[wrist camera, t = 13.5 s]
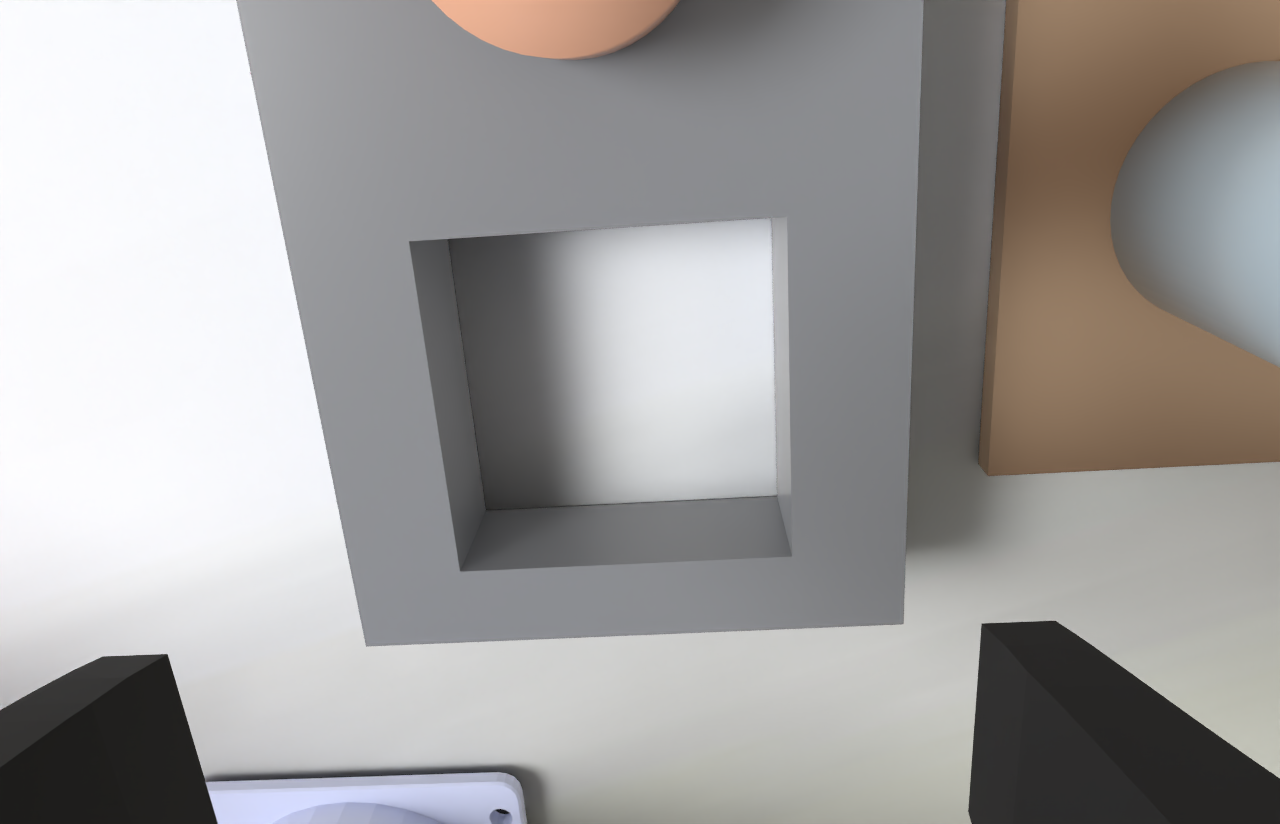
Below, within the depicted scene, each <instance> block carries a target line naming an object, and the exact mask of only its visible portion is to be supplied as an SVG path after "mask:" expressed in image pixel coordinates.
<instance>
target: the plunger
mask: <svg viewBox="0 0 1280 824" xmlns="http://www.w3.org/2000/svg"><path fill="white" fill-rule="evenodd" d="M432 1H433V2H434V3H435V4H436V5H437V6H438V7H439V8H440V9H441V10H442V11H443V12H444V13H445V14H446V15H447V16H448V17H449V18H450V19H452V20H453V21H454V22H455V23H457V24H458V25H459V26H461V27H462V28H463V29H464V30H466V31H468V32H469V33H471V34H473V35H474V36H476V37H478V38H479V39H481V40H483V41H485V42H487V43H490V44H492V45H494V46H496V47H499V48H501V49H504V50H507V51H511V52H515V53H518V54H522V55H528V56H535V57H542V58H550V59H559V60H582V59H588V58H595V57H600V56H603V55H606V54H610V53H613V52H616V51H618V50H620V49H623V48H625V47H627V46H629V45H631V44H633V43H635V42H636V41H638V40H639V39H641V38H642V37H644V36H646V35H647V34H648V33H650V32H651V31H652V30H653V29H654V28H656V27H657V26H658V25H659V24H660V23H661V22H662V21H663V20H664V19H665V18H666V17H667V16H668V15H669V14H670V13H671V12H672V11H673V9H674V8H675V7H676V5H677V4H678V3H679V1H680V0H432Z"/></svg>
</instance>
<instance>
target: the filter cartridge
mask: <svg viewBox="0 0 1280 824" xmlns="http://www.w3.org/2000/svg"><path fill="white" fill-rule="evenodd" d="M1110 225H1111V237H1112V242H1113V246H1114V251H1115V254H1116V257H1117V259H1118V262H1119V264H1120V267H1121V269H1122V270H1123V272H1124V274H1125V276H1126V277H1127V279H1128V280H1129V282H1130V283H1131V284H1132V285H1133V287H1134V288H1135V289H1136V290H1137V291H1138V292H1139V293H1140V294H1141V295H1142V296H1143V297H1144V298H1145V299H1147V300H1148V301H1149V302H1151V303H1152V304H1154V305H1155V306H1157V307H1158V308H1160V309H1162V310H1164V311H1166V312H1168V313H1170V314H1172V315H1174V316H1176V317H1178V318H1180V319H1182V320H1184V321H1186V322H1188V323H1190V324H1192V325H1194V326H1196V327H1198V328H1200V329H1202V330H1204V331H1207V332H1209V333H1211V334H1213V335H1215V336H1217V337H1219V338H1221V339H1223V340H1225V341H1227V342H1229V343H1231V344H1233V345H1235V346H1237V347H1239V348H1241V349H1243V350H1245V351H1247V352H1249V353H1251V354H1253V355H1255V356H1257V357H1259V358H1261V359H1263V360H1265V361H1267V362H1270V363H1272V364H1274V365H1276V366H1278V367H1280V61H1262V62H1254V63H1246V64H1242V65H1238V66H1235V67H1231V68H1227V69H1225V70H1222V71H1220V72H1217V73H1215V74H1212V75H1210V76H1208V77H1206V78H1204V79H1202V80H1200V81H1198V82H1196V83H1195V84H1193V85H1191V86H1190V87H1188V88H1187V89H1185V90H1184V91H1183V92H1181V93H1180V94H1178V95H1177V96H1176V97H1174V98H1173V99H1172V100H1171V101H1170V102H1169V103H1167V104H1166V105H1165V106H1164V107H1163V108H1162V109H1161V110H1160V111H1159V112H1158V113H1157V114H1156V115H1155V116H1154V117H1153V118H1152V119H1151V120H1150V121H1149V123H1148V124H1147V125H1146V126H1145V128H1144V129H1143V130H1142V132H1141V133H1140V134H1139V136H1138V137H1137V139H1136V140H1135V142H1134V144H1133V145H1132V147H1131V149H1130V150H1129V152H1128V154H1127V156H1126V158H1125V160H1124V162H1123V165H1122V167H1121V169H1120V172H1119V175H1118V178H1117V181H1116V184H1115V187H1114V192H1113V198H1112V203H1111V216H1110Z"/></svg>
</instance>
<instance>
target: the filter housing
mask: <svg viewBox="0 0 1280 824" xmlns="http://www.w3.org/2000/svg"><path fill="white" fill-rule="evenodd" d="M236 1H237V6H238V11H239V16H240V21H241V26H242V31H243V36H244V41H245V46H246V51H247V56H248V61H249V66H250V71H251V76H252V80H253V85H254V90H255V95H256V100H257V105H258V110H259V115H260V120H261V125H262V130H263V135H264V140H265V145H266V150H267V155H268V160H269V165H270V170H271V175H272V180H273V185H274V190H275V195H276V200H277V205H278V210H279V215H280V220H281V225H282V230H283V235H284V240H285V245H286V250H287V255H288V260H289V265H290V270H291V275H292V280H293V285H294V290H295V295H296V300H297V305H298V310H299V315H300V320H301V324H302V329H303V334H304V339H305V344H306V349H307V354H308V359H309V364H310V369H311V374H312V379H313V384H314V389H315V394H316V399H317V404H318V409H319V414H320V419H321V424H322V429H323V434H324V439H325V444H326V449H327V454H328V459H329V464H330V469H331V474H332V479H333V484H334V489H335V494H336V499H337V504H338V509H339V514H340V519H341V524H342V529H343V534H344V539H345V544H346V549H347V554H348V559H349V564H350V568H351V573H352V578H353V583H354V588H355V593H356V598H357V603H358V608H359V613H360V618H361V623H362V628H363V633H364V638H365V643H366V646H387V645H411V644H435V643H460V642H484V641H508V640H532V639H557V638H581V637H605V636H629V635H654V634H678V633H702V632H726V631H751V630H775V629H799V628H823V627H848V626H872V625H896V624H903V621H904V590H905V559H906V529H907V498H908V468H909V437H910V406H911V376H912V345H913V315H914V284H915V253H916V223H917V192H918V162H919V131H920V100H921V70H922V39H923V9H924V0H680V1H679V3H678V4H677V5H676V7H675V8H674V9H673V11H672V12H671V13H670V14H669V15H668V16H667V17H666V18H665V19H664V20H663V21H662V22H661V23H660V24H659V25H658V26H657V27H656V28H654V29H653V30H652V31H651V32H650V33H648V34H647V35H646V36H644V37H642V38H641V39H639V40H638V41H636V42H635V43H633V44H631V45H629V46H627V47H625V48H623V49H620V50H618V51H616V52H613V53H610V54H606V55H603V56H600V57H595V58H588V59H582V60H559V59H550V58H542V57H535V56H528V55H522V54H518V53H515V52H511V51H507V50H504V49H501V48H499V47H496V46H494V45H492V44H490V43H487V42H485V41H483V40H481V39H479V38H478V37H476V36H474V35H473V34H471V33H469V32H468V31H466V30H464V29H463V28H462V27H461V26H459V25H458V24H457V23H455V22H454V21H453V20H452V19H450V18H449V17H448V16H447V15H446V14H445V13H444V12H443V11H442V10H441V9H440V8H439V7H438V6H437V5H436V4H435V3H434V2H433V1H432V0H236ZM760 218H771V226H772V274H773V323H774V371H775V420H776V468H777V496H773V497H752V498H732V499H712V500H691V501H671V502H650V503H630V504H609V505H589V506H569V507H548V508H528V509H507V510H487V511H486V507H485V500H484V493H483V486H482V479H481V472H480V464H479V457H478V450H477V443H476V436H475V429H474V422H473V415H472V408H471V400H470V393H469V386H468V379H467V372H466V365H465V358H464V351H463V343H462V336H461V329H460V322H459V315H458V308H457V301H456V294H455V286H454V279H453V272H452V265H451V258H450V251H449V244H448V239H454V238H469V237H484V236H500V235H515V234H530V233H546V232H561V231H576V230H592V229H607V228H622V227H638V226H653V225H668V224H684V223H699V222H714V221H730V220H745V219H760Z"/></svg>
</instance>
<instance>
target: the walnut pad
mask: <svg viewBox="0 0 1280 824" xmlns="http://www.w3.org/2000/svg"><path fill="white" fill-rule="evenodd" d="M1262 61H1280V0H1006V14H1005V30H1004V47H1003V63H1002V80H1001V96H1000V113H999V129H998V146H997V162H996V179H995V195H994V212H993V228H992V244H991V261H990V277H989V294H988V310H987V327H986V343H985V360H984V376H983V393H982V409H981V426H980V442H979V459H978V464H979V465H980V467H981V468H982V469H983V470H984V472H985V473H986V474H987V476H998V475H1018V474H1039V473H1059V472H1079V471H1099V470H1119V469H1140V468H1160V467H1180V466H1200V465H1220V464H1240V463H1261V462H1280V367H1278V366H1276V365H1274V364H1272V363H1270V362H1267V361H1265V360H1263V359H1261V358H1259V357H1257V356H1255V355H1253V354H1251V353H1249V352H1247V351H1245V350H1243V349H1241V348H1239V347H1237V346H1235V345H1233V344H1231V343H1229V342H1227V341H1225V340H1223V339H1221V338H1219V337H1217V336H1215V335H1213V334H1211V333H1209V332H1207V331H1204V330H1202V329H1200V328H1198V327H1196V326H1194V325H1192V324H1190V323H1188V322H1186V321H1184V320H1182V319H1180V318H1178V317H1176V316H1174V315H1172V314H1170V313H1168V312H1166V311H1164V310H1162V309H1160V308H1158V307H1157V306H1155V305H1154V304H1152V303H1151V302H1149V301H1148V300H1147V299H1145V298H1144V297H1143V296H1142V295H1141V294H1140V293H1139V292H1138V291H1137V290H1136V289H1135V288H1134V287H1133V285H1132V284H1131V283H1130V282H1129V280H1128V279H1127V277H1126V276H1125V274H1124V272H1123V270H1122V269H1121V267H1120V264H1119V262H1118V259H1117V257H1116V254H1115V251H1114V246H1113V242H1112V237H1111V225H1110V216H1111V203H1112V198H1113V192H1114V187H1115V184H1116V181H1117V178H1118V175H1119V172H1120V169H1121V167H1122V165H1123V162H1124V160H1125V158H1126V156H1127V154H1128V152H1129V150H1130V149H1131V147H1132V145H1133V144H1134V142H1135V140H1136V139H1137V137H1138V136H1139V134H1140V133H1141V132H1142V130H1143V129H1144V128H1145V126H1146V125H1147V124H1148V123H1149V121H1150V120H1151V119H1152V118H1153V117H1154V116H1155V115H1156V114H1157V113H1158V112H1159V111H1160V110H1161V109H1162V108H1163V107H1164V106H1165V105H1166V104H1167V103H1169V102H1170V101H1171V100H1172V99H1173V98H1174V97H1176V96H1177V95H1178V94H1180V93H1181V92H1183V91H1184V90H1185V89H1187V88H1188V87H1190V86H1191V85H1193V84H1195V83H1196V82H1198V81H1200V80H1202V79H1204V78H1206V77H1208V76H1210V75H1212V74H1215V73H1217V72H1220V71H1222V70H1225V69H1227V68H1231V67H1235V66H1238V65H1242V64H1246V63H1254V62H1262Z"/></svg>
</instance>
